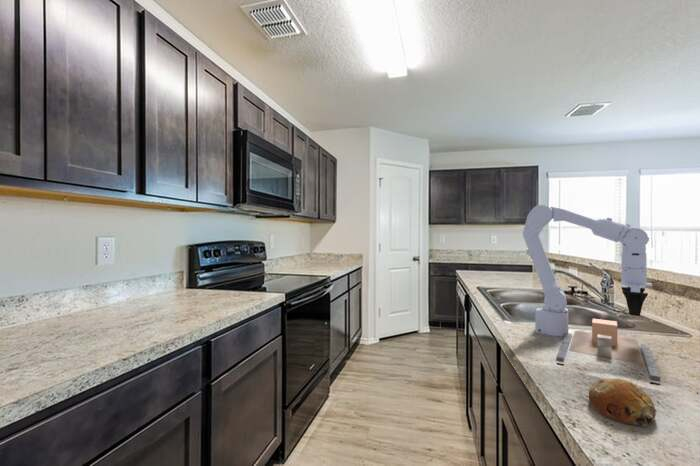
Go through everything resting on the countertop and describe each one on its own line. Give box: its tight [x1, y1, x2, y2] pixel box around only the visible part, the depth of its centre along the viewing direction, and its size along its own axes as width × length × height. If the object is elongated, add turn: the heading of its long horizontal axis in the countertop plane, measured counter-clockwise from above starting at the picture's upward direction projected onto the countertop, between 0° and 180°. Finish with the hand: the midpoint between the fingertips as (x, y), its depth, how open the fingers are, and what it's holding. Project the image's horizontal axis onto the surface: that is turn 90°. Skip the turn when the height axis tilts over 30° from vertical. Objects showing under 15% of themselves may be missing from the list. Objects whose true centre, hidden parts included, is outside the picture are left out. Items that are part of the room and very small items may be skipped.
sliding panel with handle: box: [568, 330, 645, 365], centre depth 98 cm, size 16×24×6 cm, turn 142°
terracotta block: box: [591, 318, 618, 346], centre depth 101 cm, size 6×6×6 cm
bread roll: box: [588, 377, 657, 426], centre depth 64 cm, size 10×10×8 cm
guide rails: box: [555, 332, 661, 386], centre depth 91 cm, size 20×26×2 cm
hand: (633, 313), depth 100 cm, fingers open, 7 cm apart
